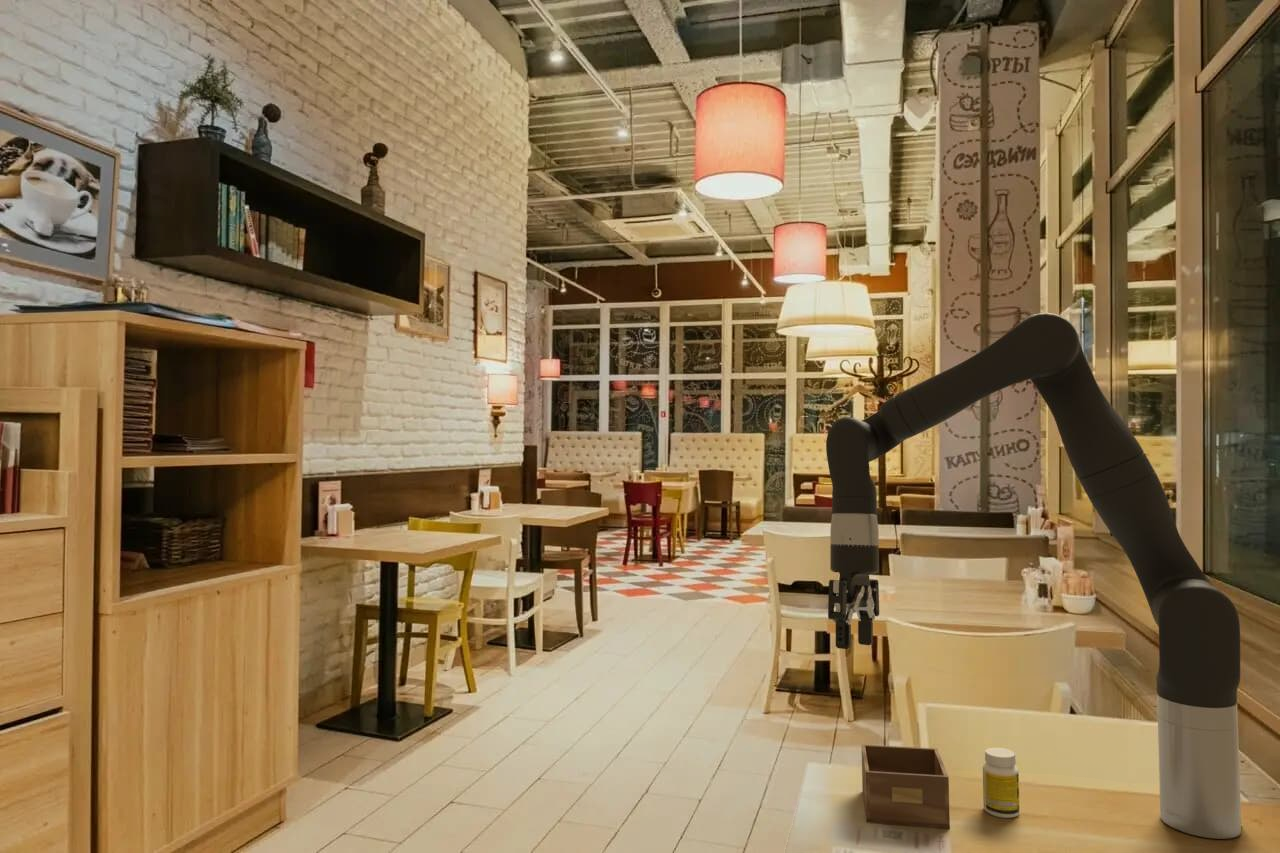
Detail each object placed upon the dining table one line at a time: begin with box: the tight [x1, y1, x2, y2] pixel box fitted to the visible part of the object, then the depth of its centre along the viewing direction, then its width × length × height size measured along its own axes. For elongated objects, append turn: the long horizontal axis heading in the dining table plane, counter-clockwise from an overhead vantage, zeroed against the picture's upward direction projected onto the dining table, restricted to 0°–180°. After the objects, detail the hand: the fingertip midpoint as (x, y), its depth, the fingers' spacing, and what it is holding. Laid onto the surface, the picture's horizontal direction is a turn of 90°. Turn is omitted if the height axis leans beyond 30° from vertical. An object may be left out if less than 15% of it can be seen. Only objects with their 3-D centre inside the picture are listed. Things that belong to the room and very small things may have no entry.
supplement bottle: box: [982, 747, 1020, 819], centre depth 121 cm, size 5×5×8 cm
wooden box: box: [861, 744, 951, 829], centre depth 122 cm, size 11×11×7 cm
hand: (854, 646), depth 133 cm, fingers open, 8 cm apart
